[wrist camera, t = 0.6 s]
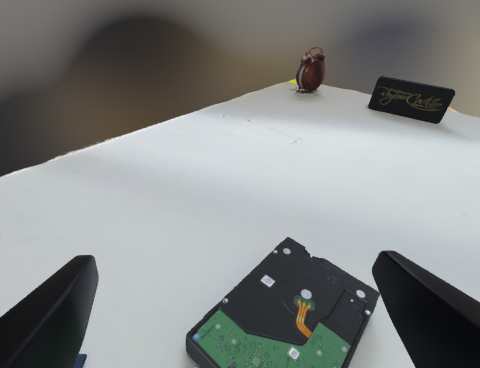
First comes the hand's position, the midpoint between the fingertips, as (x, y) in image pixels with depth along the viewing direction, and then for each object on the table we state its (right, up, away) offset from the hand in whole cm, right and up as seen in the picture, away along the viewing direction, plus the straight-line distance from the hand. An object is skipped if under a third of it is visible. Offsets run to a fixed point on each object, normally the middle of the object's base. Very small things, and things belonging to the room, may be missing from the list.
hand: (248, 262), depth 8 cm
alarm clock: (+25, +37, +91) cm, 101 cm away
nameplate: (+52, +24, +77) cm, 96 cm away
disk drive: (+4, -11, +15) cm, 19 cm away
